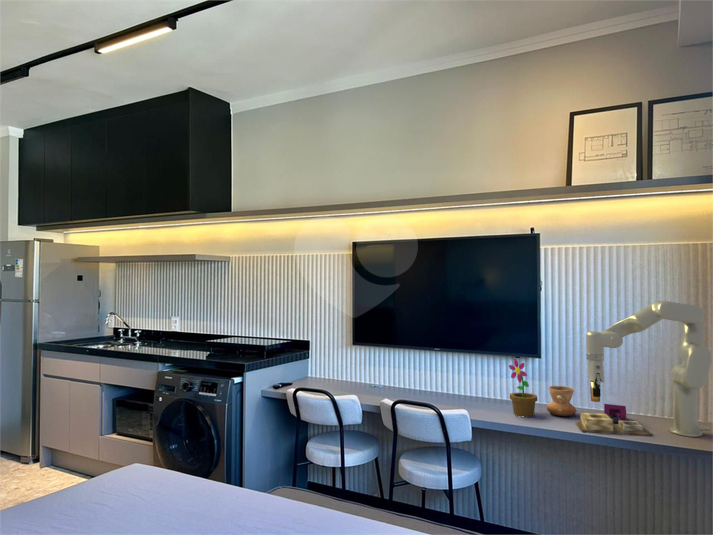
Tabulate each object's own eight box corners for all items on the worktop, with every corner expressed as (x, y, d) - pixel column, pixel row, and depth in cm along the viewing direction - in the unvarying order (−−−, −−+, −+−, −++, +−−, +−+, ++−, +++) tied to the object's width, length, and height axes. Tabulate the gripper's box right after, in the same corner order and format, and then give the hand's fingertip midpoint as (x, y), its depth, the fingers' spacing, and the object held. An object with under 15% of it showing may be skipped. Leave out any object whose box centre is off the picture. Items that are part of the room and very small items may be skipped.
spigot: (598, 400, 238) (598, 381, 238) (601, 402, 234) (600, 383, 234) (589, 399, 239) (589, 381, 239) (592, 401, 235) (591, 382, 235)
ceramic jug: (574, 420, 251) (574, 392, 251) (544, 416, 258) (544, 388, 259) (577, 412, 266) (577, 386, 267) (549, 409, 274) (549, 383, 274)
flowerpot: (503, 413, 264) (503, 357, 265) (522, 410, 271) (521, 355, 272) (524, 419, 252) (523, 361, 253) (543, 416, 259) (542, 359, 260)
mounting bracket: (606, 428, 257) (604, 420, 243) (606, 412, 260) (604, 403, 247) (627, 430, 252) (625, 423, 238) (626, 414, 256) (625, 406, 242)
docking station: (641, 427, 238) (641, 414, 238) (652, 436, 224) (652, 422, 225) (575, 423, 244) (575, 411, 244) (582, 432, 231) (581, 419, 231)
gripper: (608, 360, 228) (609, 400, 227) (598, 355, 244) (598, 392, 244) (591, 359, 229) (591, 399, 229) (582, 354, 246) (582, 391, 245)
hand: (595, 395), depth 236 cm, fingers closed on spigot, 4 cm apart
